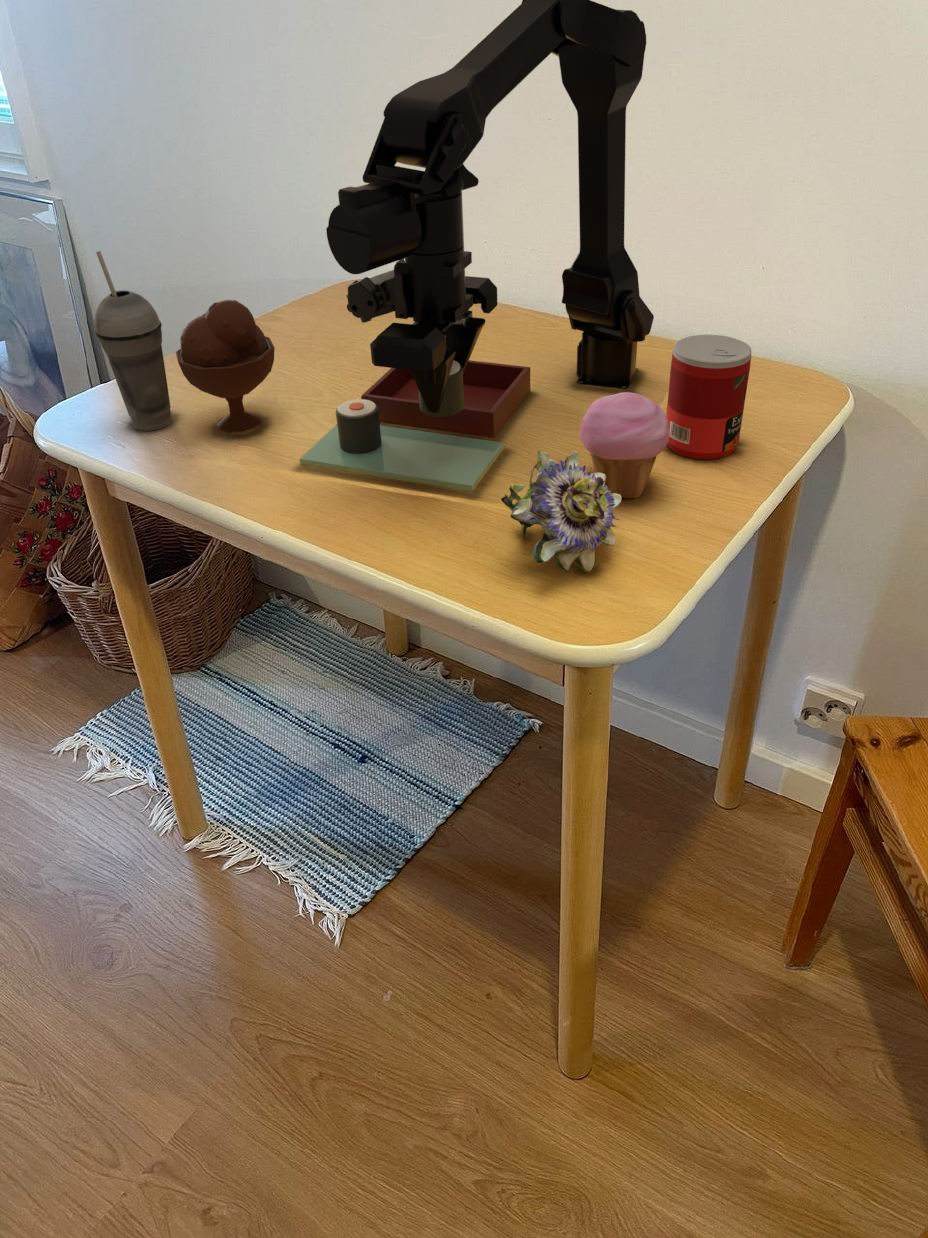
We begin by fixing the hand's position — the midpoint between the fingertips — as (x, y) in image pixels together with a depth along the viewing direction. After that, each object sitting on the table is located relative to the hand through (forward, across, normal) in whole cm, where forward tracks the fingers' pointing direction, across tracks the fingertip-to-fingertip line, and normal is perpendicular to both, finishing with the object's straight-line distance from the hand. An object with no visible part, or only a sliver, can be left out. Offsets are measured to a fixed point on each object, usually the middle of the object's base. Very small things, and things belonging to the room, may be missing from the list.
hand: (442, 401), depth 99 cm
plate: (+8, 0, -5) cm, 9 cm away
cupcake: (+8, -1, +19) cm, 21 cm away
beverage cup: (+8, 0, -38) cm, 39 cm away
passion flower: (+8, +12, +16) cm, 21 cm away
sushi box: (+8, -13, -5) cm, 16 cm away
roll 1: (+6, 0, -10) cm, 12 cm away
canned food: (+8, -13, +25) cm, 29 cm away
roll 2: (+1, 0, 0) cm, 1 cm away
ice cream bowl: (+8, -2, -27) cm, 28 cm away
